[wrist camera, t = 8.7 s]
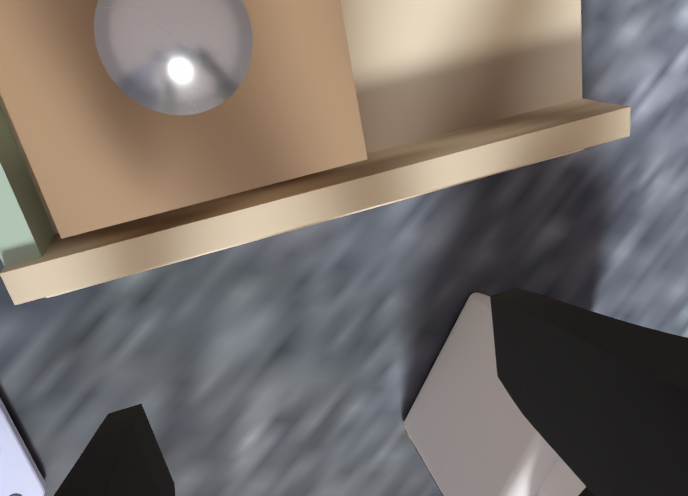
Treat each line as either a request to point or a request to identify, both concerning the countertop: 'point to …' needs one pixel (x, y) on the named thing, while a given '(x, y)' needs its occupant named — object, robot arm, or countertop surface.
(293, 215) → the bay
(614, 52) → the countertop surface
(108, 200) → the block with knob
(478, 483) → the medicine bottle
